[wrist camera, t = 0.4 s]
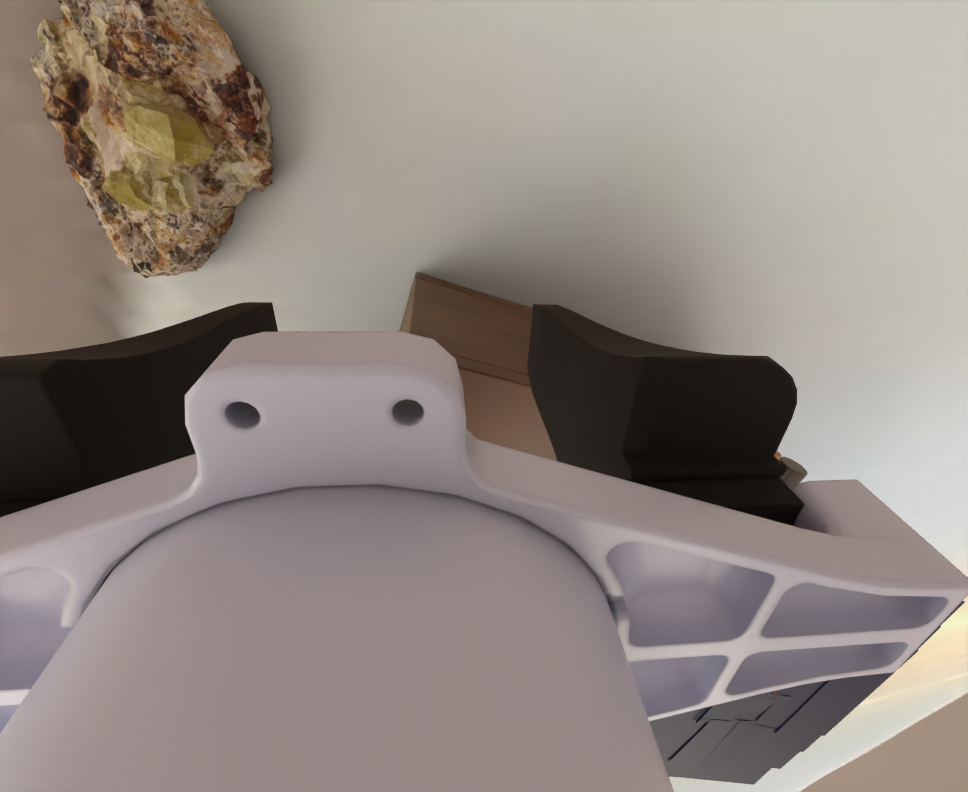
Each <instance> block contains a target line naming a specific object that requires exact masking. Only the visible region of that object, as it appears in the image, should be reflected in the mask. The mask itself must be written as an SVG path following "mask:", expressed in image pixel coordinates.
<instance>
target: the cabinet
mask: <svg viewBox="0 0 968 792" xmlns="http://www.w3.org/2000/svg"><path fill="white" fill-rule="evenodd" d="M532 314H533V308H530V307H527V306H524V305H521V304H517V303H514V302H511V301H508V300H504V299H501V298H498V297H495V296H492V295H488V294H485V293H482V292H479V291H475V290H472V289H469V288H466V287H462V286H459V285H456V284H453V283H450V282H446V281H443V280H440V279H437V278H433V277H430V276H427V275H424V274H421V273H417V272H416V274H415V277H414V281H413V285H412V288H411V292H410V295H409V299H408V303H407V306H406V310H405V313H404V317H403V321H402V324H401V328H400V331H399V332H406V333H410V334H414V335H418V336H422V337H426V338H430V339H434V340H435V341H436V342H437V343H438V344H439V345H441V346H442V347H443V348H444V349H445V350H446V351H447V352H448V353H449V354H451V355H452V356H453V357H454V358H455V359H456V363H457V366H458V370H459V373H460V377H461V380H462V383H463V393H464V403H465V413H466V428H467V430H468V431H469V432H470V433H471V434H472V435H473V436H475V437H476V438H477V439H478V440H482V441H485V442H489V443H492V444H496V445H500V446H503V447H507V448H511V449H514V450H518V451H522V452H525V453H529V454H532V455H536V456H540V457H543V458H547V459H551V460H554V461H557V459H556V455H555V452H554V449H553V446H552V443H551V441H550V438H549V436H548V433H547V431H546V428H545V425H544V423H543V420H542V418H541V415H540V413H539V410H538V407H537V405H536V402H535V399H534V397H533V394H532V390H531V386H530V381H529V375H528V370H527V363H528V353H529V344H530V334H531V324H532Z"/></svg>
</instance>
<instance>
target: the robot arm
mask: <svg viewBox="0 0 968 792" xmlns="http://www.w3.org/2000/svg"><path fill="white" fill-rule="evenodd" d="M527 370H528V375H529V381H530V386H531V390H532V394H533V397H534V399H535V402H536V405H537V407H538V410H539V413H540V415H541V418H542V420H543V423H544V425H545V428H546V431H547V433H548V436H549V438H550V441H551V443H552V446H553V449H554V452H555V455H556V459H557V461H554V460H551V459H547V458H543V457H540V456H536V455H532V454H529V453H525V452H522V451H518V450H514V449H511V448H507V447H503V446H500V445H496V444H492V443H489V442H485V441H482V440H478V439H477V438H476V437H475V436H473V435H472V434H471V433H470V432H469V431H468V430H467V428H466V413H465V403H464V393H463V383H462V380H461V377H460V373H459V370H458V366H457V363H456V359H455V358H454V357H453V356H452V355H451V354H449V353H448V352H447V351H446V350H445V349H444V348H443V347H442V346H441V345H439V344H438V343H437V342H436V341H435V340H434V339H430V338H426V337H422V336H418V335H414V334H410V333H406V332H278V329H277V325H276V320H275V315H274V310H273V305H272V303H256V302H248V303H240V304H236V305H232V306H229V307H226V308H223V309H220V310H217V311H214V312H211V313H208V314H205V315H203V316H200V317H197V318H194V319H191V320H188V321H185V322H182V323H179V324H176V325H173V326H170V327H167V328H164V329H161V330H157V331H154V332H151V333H147V334H143V335H140V336H136V337H132V338H127V339H123V340H119V341H114V342H110V343H105V344H99V345H93V346H87V347H81V348H75V349H69V350H63V351H55V352H47V353H38V354H29V355H18V356H7V357H0V792H674V791H673V788H672V785H671V783H670V780H669V777H668V774H667V771H666V768H665V765H664V762H663V760H662V757H661V754H660V751H659V748H658V745H657V742H656V739H655V737H654V734H653V731H652V728H651V725H650V722H649V721H652V720H656V719H660V718H665V717H669V716H673V715H677V714H681V713H685V712H689V711H693V710H697V709H701V708H705V707H709V706H713V705H717V704H721V703H726V702H730V701H734V700H738V699H742V698H746V697H750V696H754V695H758V694H762V693H767V692H771V691H776V690H780V689H785V688H790V687H794V686H799V685H803V684H809V683H815V682H821V681H827V680H833V679H839V678H846V677H855V676H864V675H873V674H882V673H893V672H895V671H897V669H898V668H899V667H900V666H901V665H902V664H903V663H904V662H905V661H906V660H907V659H908V658H909V657H910V656H911V655H912V654H913V653H914V651H915V650H916V649H917V648H918V647H919V646H920V645H921V644H922V643H923V642H924V641H925V640H926V639H927V638H928V637H929V636H930V635H931V634H932V632H933V631H934V630H935V629H936V628H937V627H938V626H939V625H940V624H941V623H942V622H943V621H944V620H945V619H946V618H947V617H948V616H949V614H950V613H951V612H952V611H953V610H954V609H955V608H956V607H957V606H958V605H959V604H960V603H961V602H962V601H963V600H964V599H965V598H966V597H967V595H968V577H966V576H965V575H964V574H963V573H962V572H961V571H960V570H959V569H957V568H956V567H955V566H954V565H953V564H952V563H951V562H950V561H948V560H947V559H946V558H945V557H944V556H943V555H942V554H941V553H939V552H938V551H937V550H936V549H935V548H934V547H933V546H931V545H930V544H929V543H928V542H927V541H926V540H925V539H924V538H922V537H921V536H920V535H919V534H918V533H917V532H916V531H915V530H913V529H912V528H911V527H910V526H909V525H908V524H907V523H906V522H904V521H903V520H902V519H901V518H900V517H899V516H898V515H896V514H895V513H894V512H893V511H892V510H891V509H890V508H889V507H887V506H886V505H885V504H884V503H883V502H882V501H881V500H880V499H878V498H877V497H876V496H875V495H874V494H873V493H872V492H871V491H869V490H868V489H867V488H866V487H865V486H864V485H863V484H861V483H860V482H859V481H858V480H826V481H808V482H803V483H800V484H798V485H796V486H795V487H793V488H792V489H790V488H789V487H788V486H787V485H786V484H785V483H784V482H783V481H782V479H781V478H780V477H779V476H782V475H783V473H784V471H785V469H784V465H783V464H782V463H781V462H780V461H779V460H778V459H777V458H776V457H775V456H774V455H775V453H776V451H777V449H778V446H779V444H780V442H781V440H782V438H783V436H784V434H785V432H786V430H787V427H788V425H789V423H790V421H791V419H792V417H793V413H794V410H795V407H796V404H797V388H796V386H795V383H794V380H793V378H792V376H791V375H790V374H789V373H788V372H787V371H786V370H785V369H784V368H783V367H782V366H780V365H779V364H778V363H776V362H775V361H774V360H772V359H771V358H770V357H768V356H741V355H721V354H711V353H703V352H694V351H688V350H682V349H676V348H672V347H667V346H662V345H658V344H654V343H650V342H646V341H643V340H640V339H636V338H633V337H630V336H627V335H624V334H622V333H619V332H617V331H614V330H612V329H609V328H607V327H605V326H602V325H600V324H598V323H596V322H594V321H592V320H590V319H587V318H585V317H583V316H581V315H579V314H577V313H575V312H573V311H571V310H569V309H567V308H565V307H562V306H559V305H552V304H533V314H532V324H531V334H530V344H529V353H528V363H527Z"/></svg>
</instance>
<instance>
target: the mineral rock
mask: <svg viewBox="0 0 968 792" xmlns="http://www.w3.org/2000/svg"><path fill="white" fill-rule="evenodd" d="M58 2H60V3H61V4H62V5H61V7H60V9H61V10H62V11H63V15H64V16H63V18H62V19H58V20H54V21H49V20H47V19H46V18H43V20H42V21H41V23H40V25H39V26H38V33H37V36H38V39H39V41H40V42H41V43H42V44H44V45H45V49H43V50H40V51H39V52H37V53H36V54H35V55H34V56H33V57H32V58H31V60H30V63H29V64H30V65H31V67H32V68H33V69H34V71H35V72H36V74H37V75H38V77H39V78H40V80H41V84H40V88H41V91H42V94H43V96H44V99H45V102H46V106H45V108H44V109H43V110H44V112H45V113H46V115H47V118H48V119H49V120H50V121H51V123H52V124H53V125H54V126H55V128H56V129H57V130H58V131H59V133H60V134H61V135H62V136H63V140H64V158H65V159H66V163H68V164H70V166H69V169H70V170H71V172H72V174H73V176H74V177H75V179H76V180H77V181H78V182H79V183H80V184H81V185H82V186H83V188H84V191H85V193H86V194H87V201H88V202H87V206H89V207H90V208H92V209H93V210H94V211H96V217H97V218H98V219H99V220H100V222H99V223H98V225H100V226H102V227H103V228H106V230H107V236H108V237H109V238H110V239H111V240H112V246H113V249H114V251H115V253H116V256H117V258H119V259H121V260H123V261H124V262H125V263H126V264H127V265H128V266H129V267H131V268H133V270H134V272H137V273H140V274H142V275H143V276H144V277H145V278H147V277H151V276H160V275H167V276H169V275H177V274H180V273H183V272H187V271H197V268H201V267H202V266H203V264H204V263H205V262H206V261H207V260H208V258H209V257H210V255H211V254H212V253H213V252H214V251H215V249H216V248H217V247H218V245H219V243H220V241H221V236H222V235H224V234H225V233H226V231H227V230H228V228H229V227H230V226H231V224H232V221H233V217H234V211H235V206H236V205H238V204H239V203H240V202H243V201H244V200H245V192H247V193H249V192H250V191H251V190H252V189H253V188H255V189H257V190H259V191H261V192H263V190H264V189H265V187H268V186H270V185H271V184H273V183H272V181H271V179H270V175H271V174H272V172H273V167H272V165H271V163H270V160H271V159H272V157H273V155H274V153H273V151H272V149H271V147H272V141H273V138H272V136H271V134H270V127H269V124H268V120H267V116H268V113H269V111H270V109H271V108H270V105H269V103H268V101H267V99H266V97H265V95H264V90H263V88H262V86H261V84H260V82H259V80H258V79H257V78H256V77H255V76H254V75H253V74H251V73H250V72H249V71H248V70H246V69H245V68H244V66H243V65H242V64H241V62H240V60H239V56H238V55H237V54H236V52H235V50H234V47H233V44H232V41H231V40H230V38H229V37H228V35H227V33H226V32H225V31H224V29H223V28H222V27H221V25H220V24H219V23H218V21H217V20H216V19H215V17H214V15H213V13H212V11H211V10H210V9H209V8H208V7H207V5H206V3H205V2H204V0H62V1H58Z"/></svg>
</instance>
